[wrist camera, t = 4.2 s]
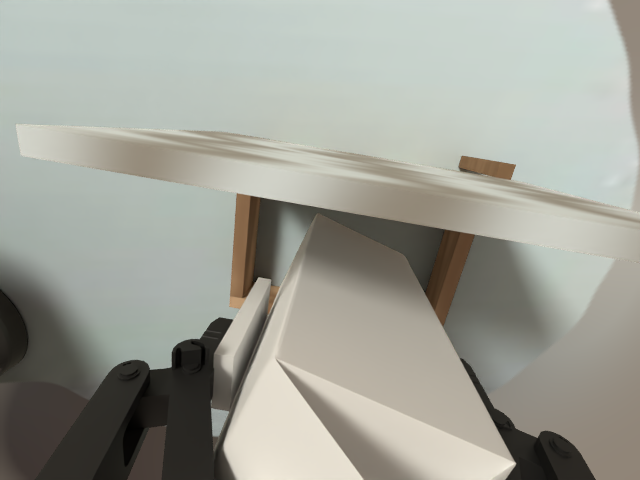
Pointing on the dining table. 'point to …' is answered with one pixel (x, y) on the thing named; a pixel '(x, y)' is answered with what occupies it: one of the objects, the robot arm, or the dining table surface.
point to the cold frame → (349, 193)
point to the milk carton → (356, 378)
